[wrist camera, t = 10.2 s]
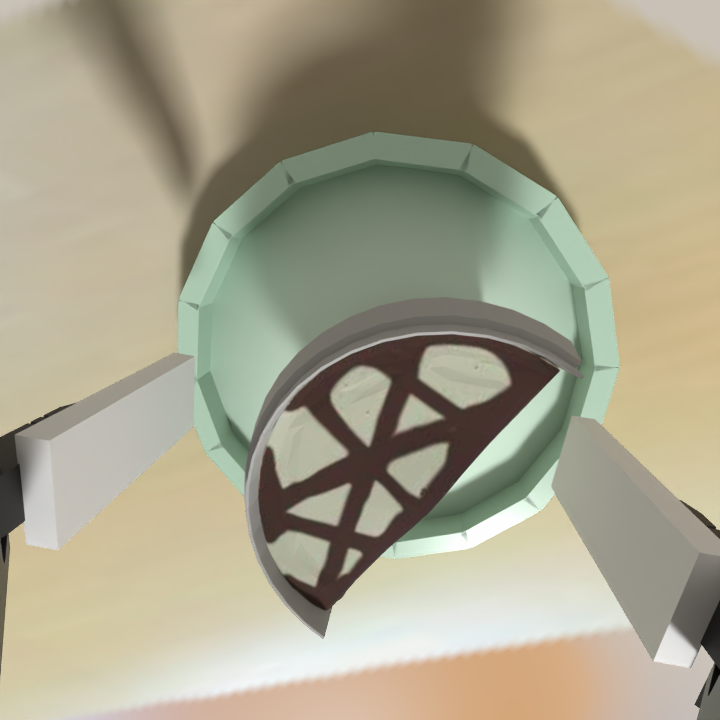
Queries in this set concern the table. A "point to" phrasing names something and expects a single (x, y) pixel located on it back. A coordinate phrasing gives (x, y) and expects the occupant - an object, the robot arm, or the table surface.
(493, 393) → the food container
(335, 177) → the tray
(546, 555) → the table surface
